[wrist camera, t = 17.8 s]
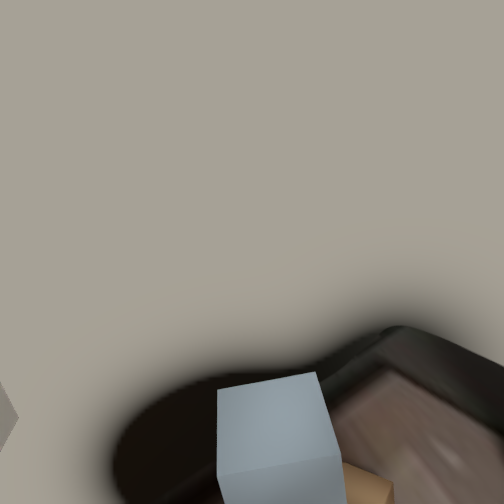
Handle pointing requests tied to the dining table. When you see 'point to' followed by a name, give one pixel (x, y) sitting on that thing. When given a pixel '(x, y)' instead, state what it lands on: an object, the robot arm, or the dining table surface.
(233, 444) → the slate block
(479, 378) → the dining table surface
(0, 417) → the robot arm
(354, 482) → the walnut block
